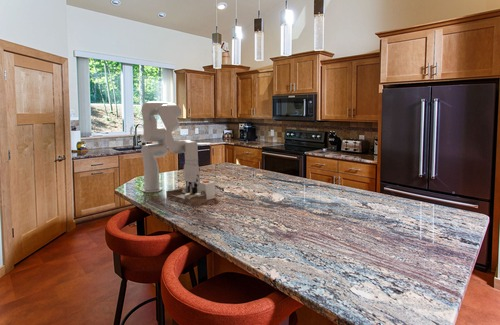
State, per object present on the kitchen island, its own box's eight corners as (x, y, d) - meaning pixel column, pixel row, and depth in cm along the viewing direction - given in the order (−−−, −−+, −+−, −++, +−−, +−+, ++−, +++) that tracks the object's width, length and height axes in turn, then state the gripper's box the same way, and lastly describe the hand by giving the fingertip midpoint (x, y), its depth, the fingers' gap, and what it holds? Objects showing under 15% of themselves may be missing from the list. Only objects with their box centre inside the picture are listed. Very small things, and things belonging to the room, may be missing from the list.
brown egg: (201, 187, 201) (201, 180, 201) (206, 186, 204) (206, 179, 204) (205, 188, 199) (205, 181, 198) (210, 187, 202) (210, 180, 201)
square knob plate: (184, 199, 193) (183, 184, 192) (193, 196, 199) (193, 182, 197) (191, 201, 189) (191, 186, 187) (201, 198, 194) (200, 183, 193)
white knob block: (197, 198, 202) (196, 182, 201) (206, 195, 208) (205, 180, 206) (205, 200, 197) (205, 184, 195) (214, 197, 203) (214, 182, 201)
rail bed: (166, 198, 202) (166, 191, 201) (181, 194, 210) (180, 187, 209) (192, 205, 186) (191, 198, 185) (206, 201, 194) (206, 194, 194)
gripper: (177, 161, 193) (178, 192, 196) (195, 164, 182) (196, 196, 185) (187, 160, 198) (188, 189, 201) (205, 163, 188) (206, 194, 191)
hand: (192, 192), depth 193 cm, fingers closed on square knob plate, 3 cm apart
